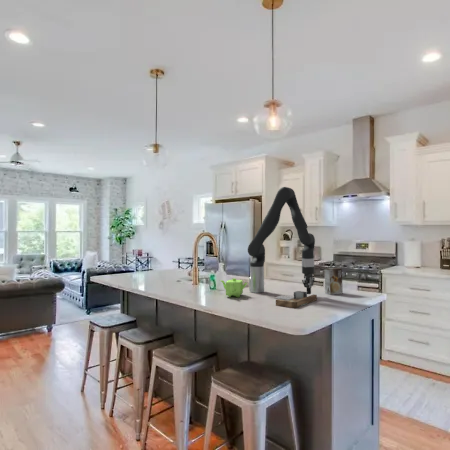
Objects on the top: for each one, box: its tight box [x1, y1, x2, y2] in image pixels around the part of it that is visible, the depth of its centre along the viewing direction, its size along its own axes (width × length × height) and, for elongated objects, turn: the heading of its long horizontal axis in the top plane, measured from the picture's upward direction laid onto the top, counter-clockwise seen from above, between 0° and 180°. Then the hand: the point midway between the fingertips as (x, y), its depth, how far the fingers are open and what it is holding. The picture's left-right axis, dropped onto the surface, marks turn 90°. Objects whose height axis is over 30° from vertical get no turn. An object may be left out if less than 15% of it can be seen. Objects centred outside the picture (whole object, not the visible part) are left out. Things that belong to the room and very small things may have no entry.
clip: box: [293, 290, 308, 300], centre depth 200 cm, size 6×5×4 cm
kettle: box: [219, 277, 248, 298], centre depth 216 cm, size 15×14×11 cm
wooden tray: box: [275, 294, 318, 309], centre depth 192 cm, size 12×26×3 cm, turn 140°
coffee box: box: [323, 267, 343, 296], centre depth 218 cm, size 9×6×16 cm
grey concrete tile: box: [274, 294, 294, 300], centre depth 206 cm, size 10×8×1 cm
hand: (308, 294), depth 208 cm, fingers closed
